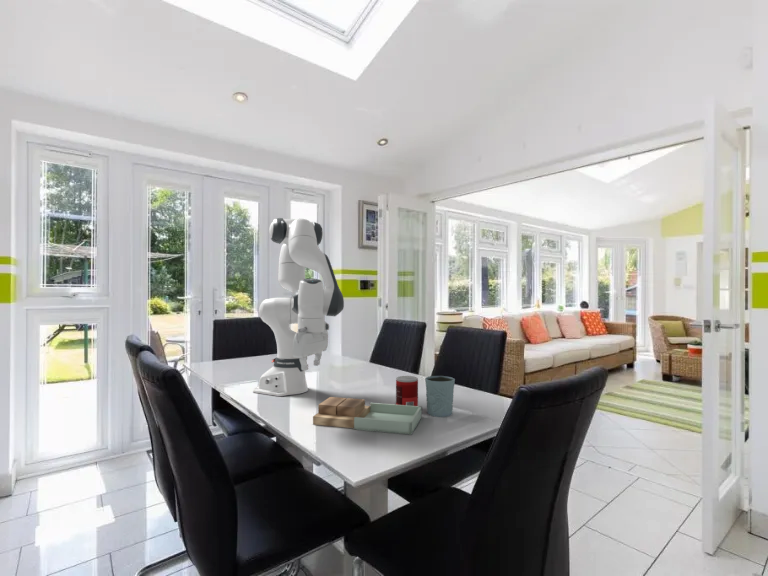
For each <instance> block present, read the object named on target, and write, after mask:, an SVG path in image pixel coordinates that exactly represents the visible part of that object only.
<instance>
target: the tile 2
mask: <svg viewBox="0 0 768 576" xmlns="http://www.w3.org/2000/svg"><path fill="white" fill-rule="evenodd" d="M365 406H366V399H363V398H362V399H361V398H352V397H348V398H347V399H346V400H345V401H344V402H342V403H341V404H340V405H338V406H337V416H348V417H356V416H357V415H358V414H359V413H360V412H361V411H362V410H364V409H365Z"/></svg>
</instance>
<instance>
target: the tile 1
mask: <svg viewBox="0 0 768 576" xmlns="http://www.w3.org/2000/svg"><path fill="white" fill-rule="evenodd" d="M346 399H348V398H347V397H338V396H330V397H328V398H326V399H325V400H323V401H322V402H320V403H319V404H317V405H318V406H317V407H318V408H317V410H318V412H317V413H318V414H325V415H337V406H338V405H340V404H341V403H342V402H344V401H345V400H346Z"/></svg>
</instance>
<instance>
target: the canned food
mask: <svg viewBox="0 0 768 576" xmlns="http://www.w3.org/2000/svg"><path fill="white" fill-rule="evenodd" d="M395 405H408V406H419V377H417V376H414V375H401V376H398V377H397V376H396V379H395Z"/></svg>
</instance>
